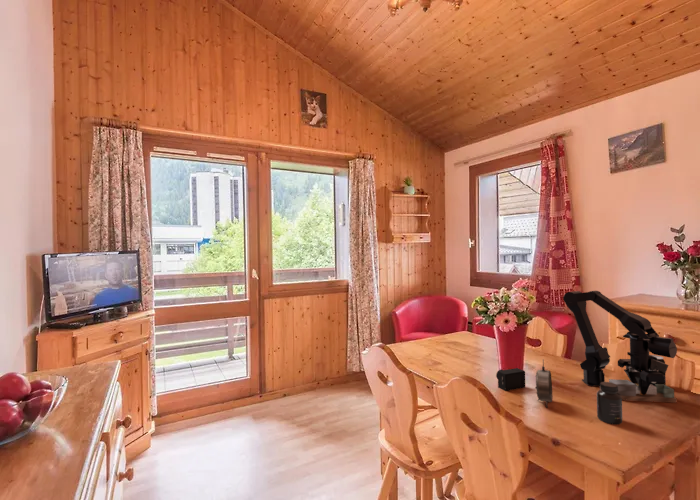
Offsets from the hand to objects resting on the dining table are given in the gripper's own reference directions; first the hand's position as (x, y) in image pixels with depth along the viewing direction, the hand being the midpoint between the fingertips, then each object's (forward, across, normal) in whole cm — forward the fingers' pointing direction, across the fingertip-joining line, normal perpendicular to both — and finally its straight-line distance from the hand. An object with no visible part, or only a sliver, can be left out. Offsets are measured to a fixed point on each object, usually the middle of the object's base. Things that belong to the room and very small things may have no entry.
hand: (640, 392), depth 134 cm
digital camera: (+2, +6, +45) cm, 45 cm away
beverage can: (+2, +14, -13) cm, 19 cm away
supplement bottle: (+2, -21, +21) cm, 29 cm away
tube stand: (+2, 0, 0) cm, 2 cm away
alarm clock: (+2, -9, +37) cm, 38 cm away
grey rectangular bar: (0, 0, +2) cm, 2 cm away
